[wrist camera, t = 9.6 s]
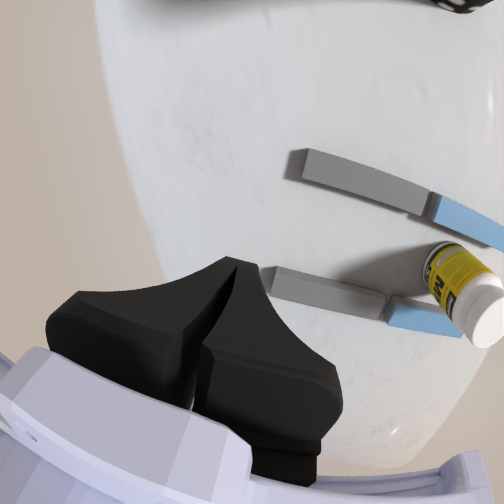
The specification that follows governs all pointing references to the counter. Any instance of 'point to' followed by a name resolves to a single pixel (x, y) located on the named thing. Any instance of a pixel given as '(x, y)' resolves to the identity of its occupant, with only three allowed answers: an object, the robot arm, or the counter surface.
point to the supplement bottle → (466, 293)
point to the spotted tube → (461, 5)
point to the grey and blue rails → (397, 195)
